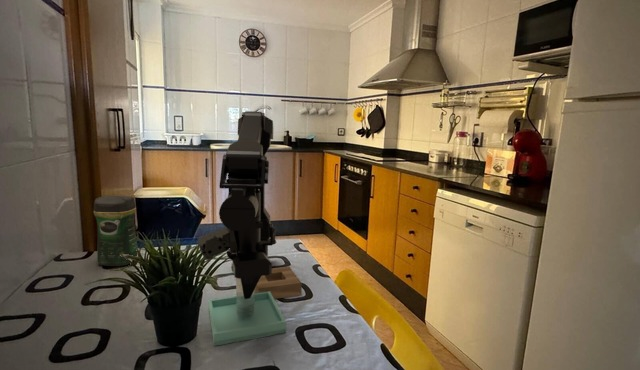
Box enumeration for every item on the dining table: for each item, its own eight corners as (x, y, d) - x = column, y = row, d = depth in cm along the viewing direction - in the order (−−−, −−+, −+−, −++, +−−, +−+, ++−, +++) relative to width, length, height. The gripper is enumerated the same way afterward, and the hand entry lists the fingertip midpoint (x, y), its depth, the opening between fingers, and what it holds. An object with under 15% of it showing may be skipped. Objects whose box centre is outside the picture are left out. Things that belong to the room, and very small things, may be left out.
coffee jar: (143, 256, 101) (140, 193, 98) (129, 267, 93) (125, 199, 90) (109, 256, 100) (104, 192, 97) (92, 266, 92) (87, 198, 89)
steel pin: (230, 307, 70) (230, 260, 69) (256, 303, 72) (256, 257, 70) (233, 321, 65) (233, 270, 64) (261, 316, 67) (261, 267, 66)
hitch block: (250, 282, 86) (250, 271, 86) (289, 277, 90) (289, 266, 89) (258, 301, 77) (258, 288, 76) (301, 294, 80) (301, 282, 80)
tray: (208, 309, 73) (208, 299, 72) (269, 300, 77) (269, 291, 77) (213, 346, 61) (213, 334, 60) (285, 332, 65) (286, 321, 65)
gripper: (197, 207, 71) (199, 278, 74) (202, 232, 54) (204, 325, 57) (252, 204, 75) (252, 272, 78) (272, 227, 58) (271, 314, 61)
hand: (245, 293), depth 68 cm, fingers closed on steel pin, 4 cm apart
